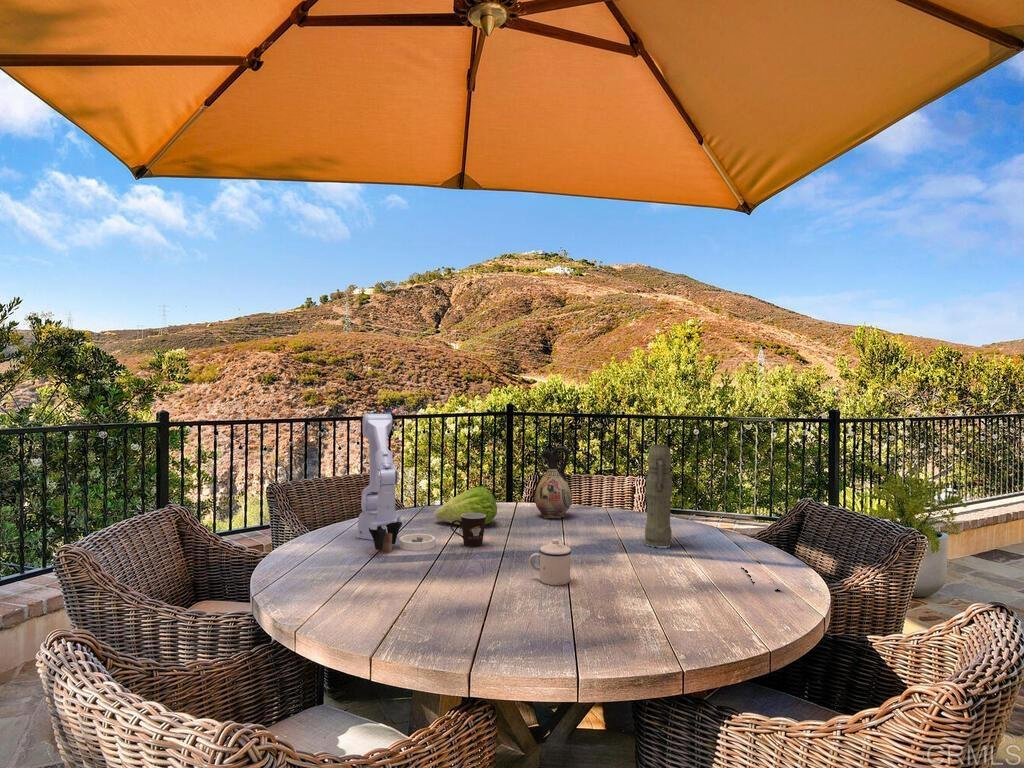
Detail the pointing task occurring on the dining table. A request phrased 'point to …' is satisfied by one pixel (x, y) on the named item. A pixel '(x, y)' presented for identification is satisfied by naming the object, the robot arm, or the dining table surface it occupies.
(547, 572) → the teacup with lid
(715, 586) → the dining table surface
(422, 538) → the white shallow dish
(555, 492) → the ceramic jug
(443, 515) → the chayote
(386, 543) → the brown wooden block
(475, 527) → the coffee mug
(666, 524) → the carved stone statue
